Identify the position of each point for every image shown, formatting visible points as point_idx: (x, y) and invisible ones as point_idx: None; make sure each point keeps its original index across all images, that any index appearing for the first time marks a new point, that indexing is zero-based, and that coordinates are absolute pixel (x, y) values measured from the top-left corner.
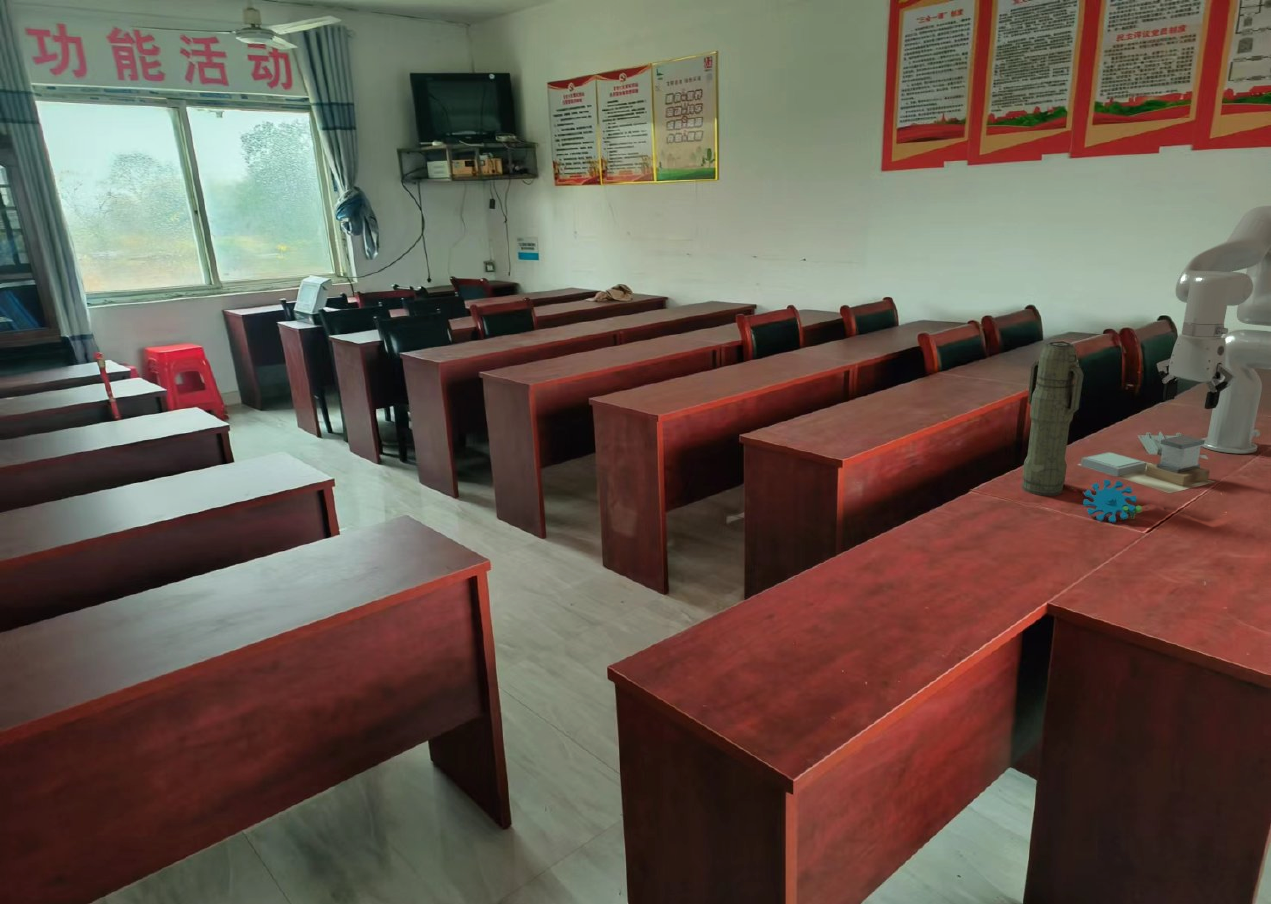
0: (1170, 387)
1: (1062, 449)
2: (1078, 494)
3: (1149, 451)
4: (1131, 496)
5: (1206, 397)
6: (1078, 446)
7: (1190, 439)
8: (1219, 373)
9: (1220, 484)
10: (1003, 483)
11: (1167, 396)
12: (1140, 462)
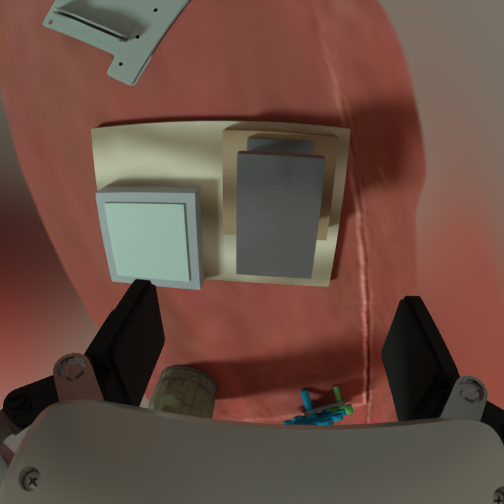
0: (136, 381)
1: None
2: (228, 369)
3: (106, 47)
4: (336, 420)
5: (394, 400)
6: (15, 140)
7: (289, 192)
8: (483, 470)
9: (349, 105)
10: (148, 392)
11: (157, 350)
12: (186, 205)
